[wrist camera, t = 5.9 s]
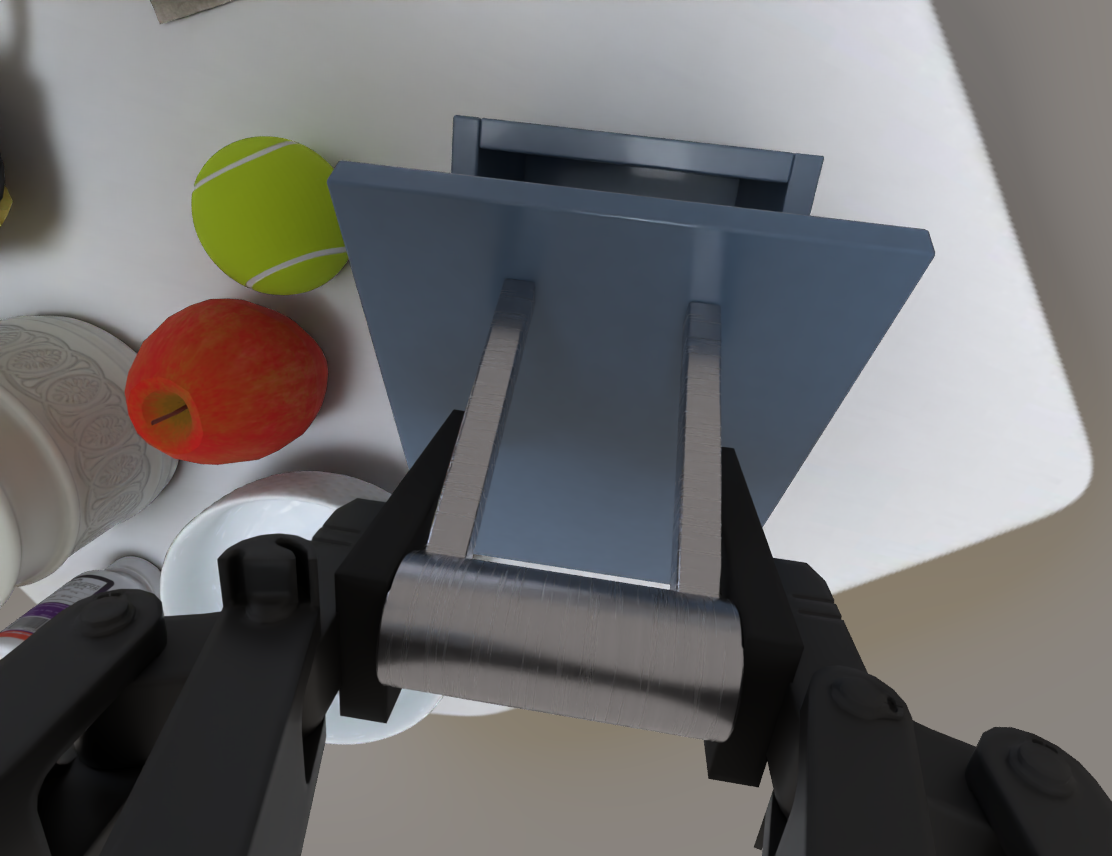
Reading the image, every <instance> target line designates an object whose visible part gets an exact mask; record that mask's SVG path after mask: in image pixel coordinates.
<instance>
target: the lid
mask: <svg viewBox="0 0 1112 856" xmlns="http://www.w3.org/2000/svg"><path fill="white" fill-rule="evenodd" d="M327 185H328V189H329V192H330V196H331V199H332V203H333V206H334V210H335V213H336V217H337V220H338V224H339V227H340V231H341V234H342V238H343V241H344V245H345V248H346V252H347V255H348V259H349V262H350V266H351V269H352V273H353V276H354V280H355V283H356V287H357V290H358V294H359V297H360V300H361V304H362V307H363V311H364V314H365V318H366V321H367V325H368V328H369V332H370V335H371V339H372V342H373V346H374V349H375V353H376V356H377V360H378V363H379V367H380V370H381V374H382V377H383V381H384V384H385V388H386V391H387V395H388V398H389V402H390V405H391V409H392V412H393V416H394V419H395V423H396V426H397V430H398V433H399V437H400V440H401V444H402V447H403V451H404V454H405V458H406V461H407V465H408V468H409V470H410V469H411V467H412V466H413V465H414V463H415V462H416V460H417V459H418V458H419V456H420V455H421V454H422V452H423V451H424V449H425V448H426V447H427V445H428V444H429V443H430V441H431V440H432V438H433V437H434V436H435V434H436V433H437V432H438V430H439V429H440V427H441V426H442V425H443V423H444V422H445V421H446V419H447V418H448V417H449V415H450V414H451V412H452V411H453V410H454V409H455V410H462V411H465V413H464V416H463V420H462V423H461V426H460V430H459V433H458V436H457V440H456V443H455V446H454V450H453V453H452V456H451V460H450V463H449V466H448V470H447V473H446V476H445V480H444V483H443V486H442V490H441V493H440V496H439V500H438V503H437V506H436V510H435V513H434V516H433V520H432V523H431V527H430V530H429V533H428V537H427V540H426V543H425V547H424V550H423V551H417V550H412V551H409V552H408V553H407V554H405V556H404V557H403V558H402V560H401V561H400V563H399V565H398V567H397V569H396V571H395V573H394V575H393V578H392V580H391V583H390V585H389V588H388V591H387V595H386V598H385V601H384V605H383V609H382V613H381V618H380V623H379V628H378V635H377V643H376V673H377V677H378V680H379V682H380V683H381V684H383V685H385V686H391V687H397V688H403V689H409V690H415V691H420V692H426V693H432V694H438V695H444V696H450V697H456V698H461V699H467V700H473V701H479V702H485V703H491V704H497V705H502V706H508V707H514V708H520V709H526V710H532V711H538V712H543V713H550V714H555V715H562V716H567V717H574V718H579V719H585V720H590V721H597V722H603V723H608V724H614V725H620V726H625V727H631V728H637V729H643V730H650V731H655V732H661V733H666V734H673V735H678V736H684V737H690V738H696V739H702V740H707V741H713V742H719V743H722V742H725V741H727V740H728V739H729V737H730V735H731V733H732V731H733V729H734V726H735V723H736V720H737V716H738V712H739V707H740V702H741V695H742V688H743V677H744V636H743V627H742V621H741V616H740V612H739V609H738V607H737V605H736V603H735V602H734V601H732V600H730V599H724V598H721V446H722V447H729V448H734V449H735V452H736V455H737V458H738V461H739V463H740V466H741V469H742V472H743V475H744V478H745V480H746V483H747V486H748V489H749V492H750V495H751V497H752V500H753V503H754V506H755V509H756V512H757V514H758V517H759V520H760V523H761V526H762V527H763V526H764V524H765V523H766V521H767V520H768V518H769V516H770V515H771V513H772V512H773V510H774V509H775V507H776V505H777V504H778V502H779V501H780V499H781V498H782V496H783V494H784V493H785V491H786V490H787V488H788V486H789V485H790V483H791V482H792V480H793V479H794V477H795V475H796V474H797V472H798V471H799V469H800V468H801V466H802V464H803V463H804V461H805V460H806V458H807V457H808V455H809V453H810V452H811V450H812V449H813V447H814V446H815V444H816V442H817V441H818V439H819V438H820V436H821V435H822V433H823V431H824V430H825V428H826V427H827V425H828V423H829V422H830V420H831V419H832V417H833V416H834V414H835V412H836V411H837V409H838V408H839V406H840V405H841V403H842V401H843V400H844V398H845V397H846V395H847V394H848V392H849V390H850V389H851V387H852V386H853V384H854V383H855V381H856V379H857V378H858V376H859V375H860V373H861V371H862V370H863V368H864V367H865V365H866V364H867V362H868V360H869V359H870V357H871V356H872V354H873V353H874V351H875V349H876V348H877V346H878V345H879V343H880V342H881V340H882V338H883V337H884V335H885V334H886V332H887V331H888V329H889V327H890V326H891V324H892V323H893V321H894V320H895V318H896V316H897V315H898V313H899V312H900V310H901V308H902V307H903V305H904V304H905V302H906V301H907V299H908V297H909V296H910V294H911V293H912V291H913V290H914V288H915V286H916V285H917V283H918V282H919V280H920V279H921V277H922V275H923V274H924V272H925V271H926V269H927V268H928V266H929V264H930V263H931V261H932V260H933V258H934V256H935V250H934V247H933V244H932V241H931V237H930V234H929V231H927V230H925V229H918V228H910V227H901V226H893V225H884V224H876V223H867V222H859V221H850V220H842V219H833V218H825V217H817V216H808V215H800V214H791V213H783V212H774V211H766V210H757V209H749V208H741V207H732V206H724V205H715V204H707V203H698V202H690V201H681V200H673V199H664V198H656V197H648V196H639V195H631V194H622V193H614V192H605V191H597V190H588V189H580V188H572V187H563V186H555V185H546V184H538V183H529V182H521V181H512V180H504V179H495V178H487V177H479V176H470V175H462V174H453V173H445V172H436V171H428V170H419V169H411V168H403V167H394V166H386V165H377V164H369V163H360V162H352V161H343V160H342V161H339V162H338V163H337V165H336V166H335V168H334V170H333V171H332V173H331V174H330V176H329V177H328V179H327ZM473 554H478V555H484V556H491V557H497V558H504V559H510V560H516V561H523V562H529V563H536V564H542V565H549V566H555V567H561V568H568V569H574V570H581V571H587V572H593V573H600V574H606V575H613V576H619V577H625V578H632V579H638V580H645V581H651V582H657V583H664V584H670V590H666V589H660V588H654V587H647V586H641V585H635V584H628V583H622V582H615V581H609V580H603V579H596V578H590V577H583V576H577V575H571V574H564V573H558V572H552V571H545V570H539V569H532V568H526V567H520V566H513V565H507V564H500V563H494V562H488V561H481V560H475V559H472V558H473Z"/></svg>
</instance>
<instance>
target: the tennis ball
mask: <svg viewBox="0 0 1112 856" xmlns="http://www.w3.org/2000/svg"><path fill="white" fill-rule="evenodd" d="M333 170H334V168H333V167H332V166H331V165H330V164H329V163H328V162H327V161H326V160H325V159H323V158H322V157H321V156H320V155H318V154H317V153H316V152H314V151H313V150H311V149H310V148H308V147H306V146H304V145H301V144H299V143H297V142H295V141H292V140H288V139H284V138H279V137H270V136H260V137H251V138H246V139H242V140H239V141H236V142H234V143H231V144H229V145H227V146H225V147H224V148H222V149H221V150H219V151H218V152H217V153H215V154H214V155H213V156H212V157H211V158H210V159H209V160H208V161H207V162H206V164H205V165H204V166H203V168H202V169H201V171H200V172H199V174H198V176H197V178H196V181H195V184H194V187H195V190H194V191H193V193H192V201H191V206H192V218H193V223H194V227H195V230H196V233H197V236H198V238H199V240H200V242H201V244H202V246H203V248H204V249H205V251H206V253H207V254H208V255H209V257H210V258H211V259H212V260H213V262H214V263H215V264H216V265H217V266H218V267H219V268H220V269H221V270H222V271H223V272H224V273H225V274H227V275H228V276H229V277H230V278H232V279H233V280H235V281H236V282H238V283H240V284H241V285H243V286H245V287H247V288H252V289H253V290H255V291H258V292H261V293H266V294H272V295H294V294H300V293H304V292H308V291H311V290H314V289H316V288H318V287H320V286H322V285H323V284H325V283H327V282H328V281H329V280H331V279H332V278H333V277H334V276H335V275H336V274H338V273H339V271H340V270H341V269H342V268H343V266H344V265H345V264H346V262H347V260H348V255H347V252H346V248H345V245H344V241H343V238H342V234H341V231H340V227H339V224H338V220H337V217H336V213H335V210H334V206H333V203H332V199H331V196H330V192H329V189H328V185H327V179H328V177H329V176H330V174H331V173H332V171H333Z"/></svg>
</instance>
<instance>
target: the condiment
mask: <svg viewBox="0 0 1112 856" xmlns="http://www.w3.org/2000/svg"><path fill="white" fill-rule="evenodd" d="M150 1H151V4H152V6H153V8H154V10H155V13H156V15H157V18H158V21H159V23H160V24H162V23H166V22H169V21H172V20H174V19H179V18H183V17H185V16H188V15H192V14H194V13H198V12H200V11H203V10H206V9H210V8H213V7H216V6H219V5H222V4H225V3H227V2H230V1H233V0H150Z"/></svg>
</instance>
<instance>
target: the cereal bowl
mask: <svg viewBox="0 0 1112 856" xmlns="http://www.w3.org/2000/svg"><path fill="white" fill-rule="evenodd" d="M391 495H392V494H391V493H388V492H387V491H385V490H384V489H380V488H379V487H378V486H375V485H373V484H370V483H367V482H365V481H363V480H359V479H357V478H355V477H348V476H347V475H339V474H335V473H329V472H320V471H304V472H303V471H298V472H287V473H283V474H276V475H271V476H269V477H267V478H263V479H259V480H256V481H254V482H252V483H249V484H246V485H245V486H243V487H240V488H238V489H235V490H234V491H232V492H231V493H230V494H227V495H225V496H224V497H222V498H221V499H220V500H218V501H216V502H215V503H213V504H212V505H211V506H210V507H208V508H206V509H205V510H203V511H202V512H201V513H200V514H199V515H198V516H196V517H195V518H194V519H192V520H191V521H190V522H189V523H188V524H187V525H186V526H185V527H184V528H183V529H182V530H181V532H180V533H179V534H178V535H177V537H176V538H175V540H174V541H173V542H172V544H171V546H170V548H169V550H168V552H167V554H166V556H165V560H164V563H163V566H162V570H161V578H160V598H161V602H162V606H163V612H164V616H175V615H190V614H205V613H212V612H220V611H221V610H222V608H223V603H222V595H221V587H220V579H219V571H218V563H217V559H218V558H219V556H220V555H221V554H222V553H223V552H224V551H225V550H226V549H227V548H229V547H231V546H233V545H234V544H236V543H238V542H240V541H242V540H245V539H248V538H252V537H255V536H259V535H265V534H276V533H282V534H291V535H297V536H300V537H302V538H304V539H307V540H312V537H313V536H314V534H315V533H316V532H317V531H318V530H319V529H320V528H322V527H323V524H324V523H325V522H326V520H327V519H328V518H329V517H330V516H331V515H332V513H333V512H334V511H335V510H336V509H338V508H340V507H341V506H343V505H345V504H347V503H349V502H351V501H352V500H354V499H356V498H361V499H368V500H375V501H382V502H387V500H388V499H389V497H390V496H391ZM443 696H444V695H438V694H432V693H426V692H420V691H415V690H409V689H403V688H402V690H401V692H400V694H399V696H398V699H397V701H396V703H395V706H394V708H393V710H392V712H391V715H390V717H389V719H388V721H387V724H386V723H380V722H374V721H368V720H362V719H356V718H351V717H345V716H340V704H339V691H338V693H337V695H336V696H335V698H334V700H333V702H332V704H331V705H330V707H329V709H328V711H327V713H326V714H325V715H326V741H325V744H346V745H349V744H361V743H368V742H373V741H378V740H382V739H385V738H388V737H390V736H394V735H396V734H399V733H401V732H403V731H405V730H407V729H409V728H410V727H412V726H413V725H415V724H417V723H418V722H419V721H421V720H422V719H423V718H424V717H426V716H427V715H428V714H429V713H430V712H431V711H432V710H433V709H434V708H435V707H436V706H437V704H438V703H439V702H440V700H441V699H442V698H443Z"/></svg>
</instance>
